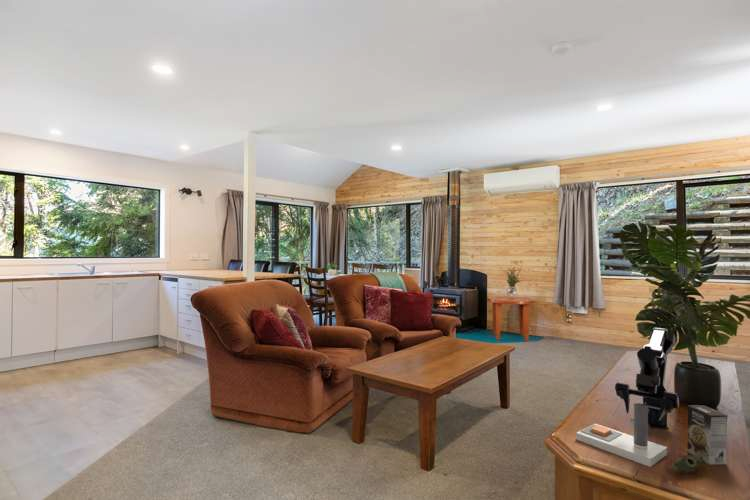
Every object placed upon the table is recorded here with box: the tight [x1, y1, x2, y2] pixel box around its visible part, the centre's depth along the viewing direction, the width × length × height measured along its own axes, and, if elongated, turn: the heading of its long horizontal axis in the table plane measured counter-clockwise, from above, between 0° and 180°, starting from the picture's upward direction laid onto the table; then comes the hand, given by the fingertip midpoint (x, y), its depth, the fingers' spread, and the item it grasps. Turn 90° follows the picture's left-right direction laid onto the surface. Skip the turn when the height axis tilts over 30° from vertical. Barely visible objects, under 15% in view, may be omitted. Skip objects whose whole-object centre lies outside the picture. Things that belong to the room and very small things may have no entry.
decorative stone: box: [671, 455, 704, 474], centre depth 132 cm, size 11×8×5 cm
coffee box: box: [686, 404, 728, 466], centre depth 141 cm, size 9×6×16 cm
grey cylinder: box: [633, 402, 649, 449], centre depth 143 cm, size 4×4×14 cm
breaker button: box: [591, 424, 611, 437], centre depth 154 cm, size 5×5×2 cm
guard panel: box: [575, 423, 668, 468], centre depth 148 cm, size 24×14×3 cm, turn 37°
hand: (642, 416), depth 145 cm, fingers open, 9 cm apart
